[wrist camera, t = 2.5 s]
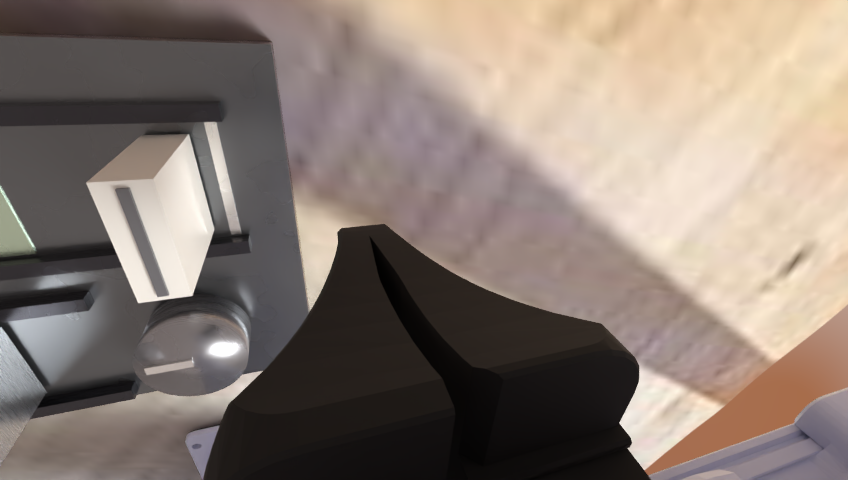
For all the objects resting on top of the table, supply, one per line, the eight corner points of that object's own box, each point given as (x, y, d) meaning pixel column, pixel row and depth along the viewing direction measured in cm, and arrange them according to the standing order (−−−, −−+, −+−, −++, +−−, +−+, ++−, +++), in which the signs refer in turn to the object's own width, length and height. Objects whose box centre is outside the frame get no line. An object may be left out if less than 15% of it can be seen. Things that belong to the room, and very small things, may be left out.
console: (314, 345, 22) (321, 436, 18) (-34, 408, 18) (-150, 553, 13) (272, 41, 14) (264, 58, 10) (-380, 20, 10) (-1018, 30, 5)
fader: (214, 229, 16) (191, 297, 12) (173, 233, 15) (137, 305, 12) (188, 133, 14) (151, 180, 10) (141, 135, 13) (83, 183, 10)
